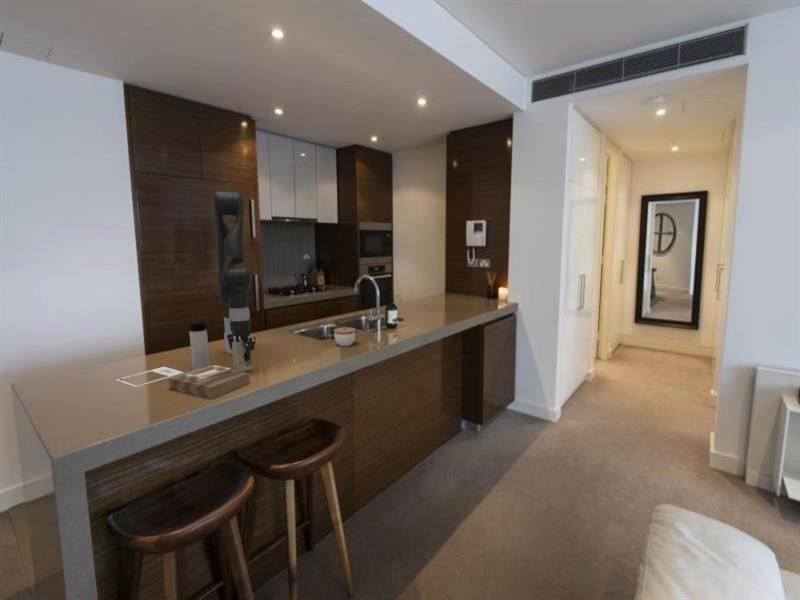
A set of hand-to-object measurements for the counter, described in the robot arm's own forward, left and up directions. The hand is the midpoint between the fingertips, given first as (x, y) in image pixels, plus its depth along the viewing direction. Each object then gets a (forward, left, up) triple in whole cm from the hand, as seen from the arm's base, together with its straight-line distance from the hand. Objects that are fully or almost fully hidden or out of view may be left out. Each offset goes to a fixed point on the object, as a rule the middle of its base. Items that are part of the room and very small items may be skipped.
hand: (242, 360), depth 162 cm
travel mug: (-16, -7, -4) cm, 18 cm away
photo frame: (-27, -21, -5) cm, 35 cm away
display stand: (+3, -18, -4) cm, 19 cm away
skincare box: (0, 0, -4) cm, 4 cm away
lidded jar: (+15, +50, -5) cm, 52 cm away
